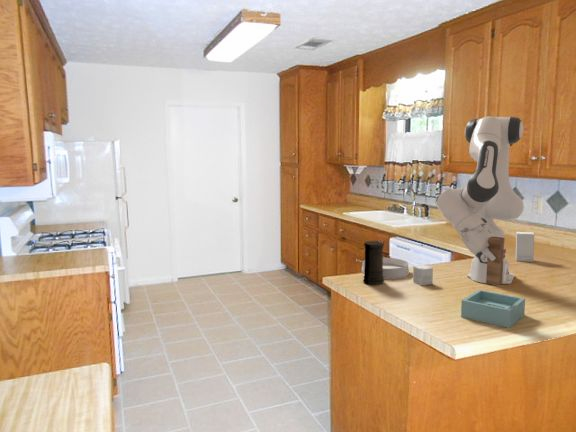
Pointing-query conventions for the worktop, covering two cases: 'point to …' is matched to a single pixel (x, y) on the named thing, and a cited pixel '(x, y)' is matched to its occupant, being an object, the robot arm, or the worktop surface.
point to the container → (373, 263)
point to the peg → (495, 261)
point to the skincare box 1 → (423, 275)
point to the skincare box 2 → (525, 246)
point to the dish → (392, 268)
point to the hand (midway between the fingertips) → (497, 258)
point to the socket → (493, 308)
